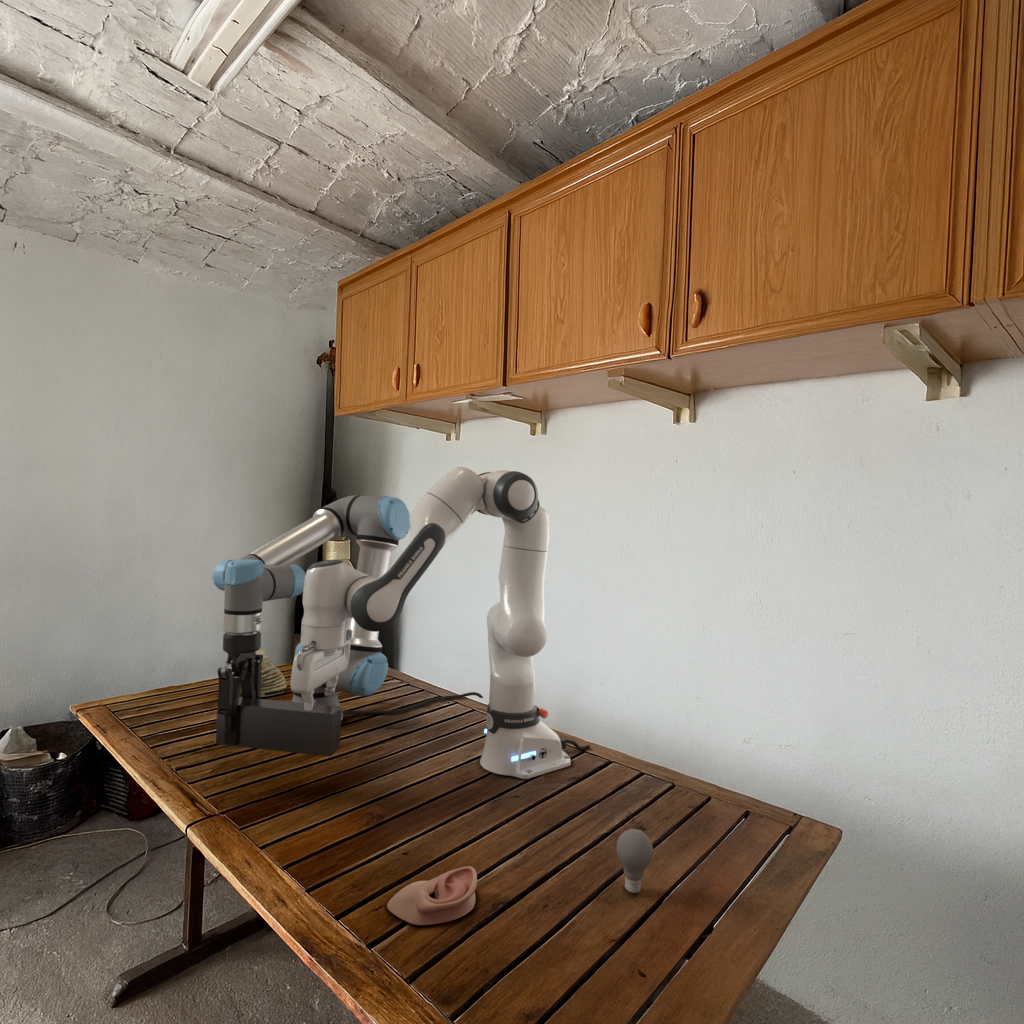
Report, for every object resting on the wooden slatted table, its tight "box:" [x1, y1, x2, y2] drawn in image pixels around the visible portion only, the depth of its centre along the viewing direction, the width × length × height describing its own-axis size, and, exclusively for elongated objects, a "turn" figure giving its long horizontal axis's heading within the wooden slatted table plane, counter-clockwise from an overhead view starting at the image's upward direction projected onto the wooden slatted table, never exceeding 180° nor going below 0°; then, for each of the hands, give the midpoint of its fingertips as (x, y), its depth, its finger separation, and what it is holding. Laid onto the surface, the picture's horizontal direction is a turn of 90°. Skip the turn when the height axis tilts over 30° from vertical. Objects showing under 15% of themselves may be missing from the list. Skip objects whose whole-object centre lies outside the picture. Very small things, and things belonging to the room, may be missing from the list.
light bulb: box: [615, 828, 654, 894], centre depth 106 cm, size 6×6×10 cm
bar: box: [215, 697, 343, 757], centre depth 135 cm, size 26×5×9 cm, turn 81°
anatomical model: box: [386, 865, 478, 926], centre depth 100 cm, size 13×4×12 cm
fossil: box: [236, 647, 288, 698], centre depth 198 cm, size 9×18×15 cm, turn 132°
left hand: (238, 739), depth 136 cm, fingers closed on bar, 5 cm apart
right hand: (319, 702), depth 133 cm, fingers open, 8 cm apart
